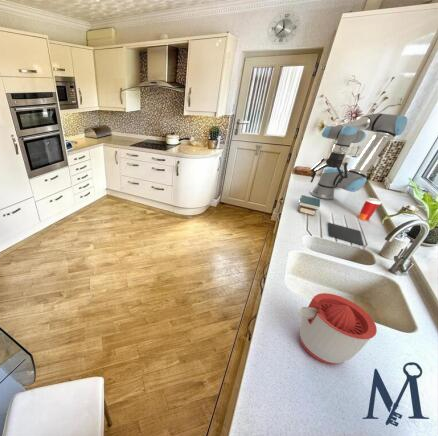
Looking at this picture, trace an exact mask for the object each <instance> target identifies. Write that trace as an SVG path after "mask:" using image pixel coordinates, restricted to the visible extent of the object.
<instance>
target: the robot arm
mask: <svg viewBox="0 0 438 436" xmlns="http://www.w3.org/2000/svg"><path fill="white" fill-rule="evenodd" d="M407 124H408V117H407V116H405V115H400V114H391V113H390V114H389V113H381V112H380V113H371V114H366V115H362V116H359V117H357V118H356V119H354V120H351V121H348V122H344V123H341V124H338V125H335V126H334V125H326V126H325V127H324V128H323V130H322V132H321V136H322V138H326V139H329V140H335V143H334V144H333V147H332V149H331V151H330V153H329V155H328V157H327V158H325V157H322V158H321V159H320V161H318V162H317V163H316V164H315V165H314V166H312V167H311V168H310V172H312V173H311V175H310V176H311V180H310V183H311V184H313V181H314V179H315V178H316V174H317V172H319V171H321V170H322V169H323V170H322V172H321V174H320V177H319V179H318V182H317V184H316V185H315V186H314V188H312V189H311V192H310V194H311V195H312V196H313V197H314V198H317V199H323V200H332V199H333V198H334V197H335V189H337V188H338V189H341V190H344V191H347V192H351V193H356V192H357V191H360V190H361V189H362V188H363V187H364V186H365V185H366V182H367V180H368V179H367V174H366V173H367V172H368V170H369V169H370V167H371V166H372V164H373V163H374V162H375V160H376V159H377V157H378V156H379V155H380V154H381V152H382V151H383V149H384V148H385V146H386V145H387V143H389V141H390V140H392V139H395V137H396V136H400V135H402V134H403V132H404V131H405V129H406V128H407ZM365 131H368V132H372V138H371V139H370V141H369V142H368V144H367V145H366V147H364V149H363V151H362V152H361V154H360V155H359V157H358V158H357V160H356V161H355V163H354V164H353V166H351V167H350V168H347V167H348V165H349V163H348V161H345V162H344V159H345V156H346V154H347V153H348V150H349V149H350V147H351V145H352V144H358V143H361V142H363V141H364V140H365V139H366V132H365ZM324 162H325V163H324ZM322 163H324V164H322ZM320 165H321V166H320ZM319 166H320V167H319ZM340 166H343V168H342V167H340Z"/></svg>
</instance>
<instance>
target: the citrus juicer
mask: <svg viewBox="0 0 438 436" xmlns="http://www.w3.org/2000/svg"><path fill="white" fill-rule="evenodd" d="M299 316H300V318H302V319H301V322H300V325H299V332H298V333H299V334H298V335H299V341H300V344H301V346H302V347H303V349H304V350H305V351H306V352H307V354H309V356H311V357H312V358H313V359H315V360H316V361H318V362H320V363H323V364H326V365H339V364H342V363H344V362H347V361H349V360H351V359H352V358H354V357H355V356H356V355H357V354H358V353H359V352H360V351H361V350H362V349H363V348H364V346H365V345H366V344H367V343H368V342H369V341H370V340H371V339H372V338H374V337H376V335H377V330H378V329H377V325H376V323H375V321H374V319H373V317H371V315H369V313H367V312H366V310H364V309H363V308H362V307H361V306H359V305H358V304H356V303H355V302H353V301H351V300H349V299H348V298H345V297H343V296H341V295H337V294H334V293H328V292H322V293H321V292H320V293H317V294H316V295H314V296H313V297H312V298H311V301H310V302H309V304H308V306H302V307H301V308H300V310H299Z"/></svg>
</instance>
